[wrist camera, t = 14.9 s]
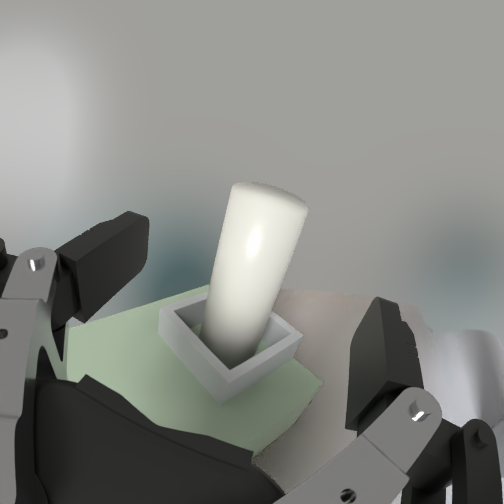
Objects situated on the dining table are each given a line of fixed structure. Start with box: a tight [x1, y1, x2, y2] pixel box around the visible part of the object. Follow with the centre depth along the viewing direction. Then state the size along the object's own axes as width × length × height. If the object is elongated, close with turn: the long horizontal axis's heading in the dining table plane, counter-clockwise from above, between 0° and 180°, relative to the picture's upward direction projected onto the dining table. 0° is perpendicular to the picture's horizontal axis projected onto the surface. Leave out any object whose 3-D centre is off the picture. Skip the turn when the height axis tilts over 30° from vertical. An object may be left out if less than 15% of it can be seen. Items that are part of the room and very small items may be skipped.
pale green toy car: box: [67, 284, 324, 458], centre depth 24 cm, size 16×21×11 cm
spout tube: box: [199, 182, 309, 370], centre depth 22 cm, size 5×5×14 cm
